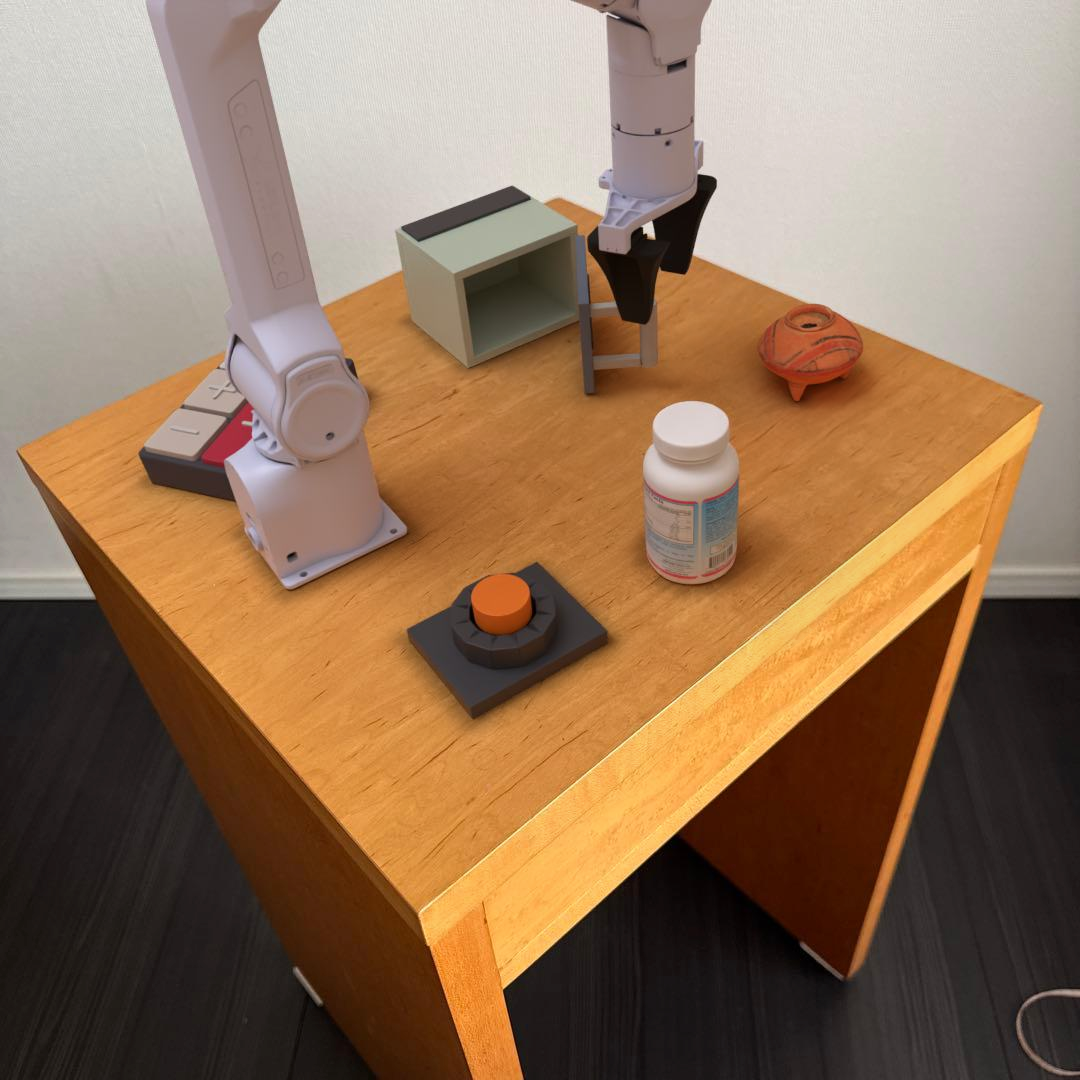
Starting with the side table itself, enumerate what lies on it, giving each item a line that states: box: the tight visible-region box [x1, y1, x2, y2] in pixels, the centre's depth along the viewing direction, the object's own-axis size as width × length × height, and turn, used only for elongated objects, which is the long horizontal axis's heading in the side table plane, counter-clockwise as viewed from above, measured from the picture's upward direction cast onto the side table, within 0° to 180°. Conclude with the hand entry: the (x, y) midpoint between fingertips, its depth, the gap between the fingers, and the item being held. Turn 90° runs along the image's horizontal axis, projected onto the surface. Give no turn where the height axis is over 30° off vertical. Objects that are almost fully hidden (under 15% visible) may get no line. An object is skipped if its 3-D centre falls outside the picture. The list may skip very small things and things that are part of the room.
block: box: [406, 561, 609, 720], centre depth 70 cm, size 10×8×3 cm
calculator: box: [138, 357, 359, 502], centre depth 89 cm, size 11×4×15 cm
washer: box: [394, 185, 579, 369], centre depth 97 cm, size 12×10×9 cm
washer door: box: [575, 234, 659, 394], centre depth 91 cm, size 11×6×8 cm, turn 0°
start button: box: [471, 573, 532, 635], centre depth 69 cm, size 4×4×2 cm
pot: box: [756, 303, 864, 402], centre depth 87 cm, size 8×8×7 cm
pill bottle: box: [642, 400, 740, 585], centre depth 72 cm, size 6×6×11 cm
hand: (655, 295), depth 86 cm, fingers open, 7 cm apart
